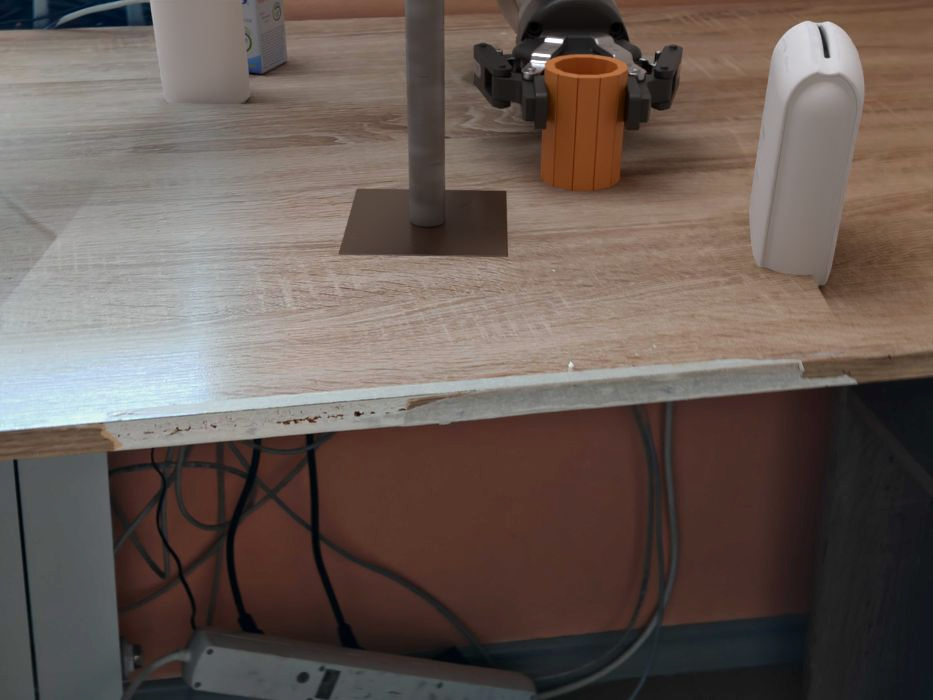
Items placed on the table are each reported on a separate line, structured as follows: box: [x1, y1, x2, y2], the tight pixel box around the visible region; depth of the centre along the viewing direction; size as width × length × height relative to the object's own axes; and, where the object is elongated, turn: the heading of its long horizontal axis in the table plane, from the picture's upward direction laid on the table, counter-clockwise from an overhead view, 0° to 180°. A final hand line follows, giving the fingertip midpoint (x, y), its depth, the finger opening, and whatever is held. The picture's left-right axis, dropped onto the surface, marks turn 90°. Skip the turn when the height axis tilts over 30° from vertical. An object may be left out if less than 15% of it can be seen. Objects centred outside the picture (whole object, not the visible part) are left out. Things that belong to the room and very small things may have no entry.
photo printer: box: [748, 20, 866, 287], centre depth 57 cm, size 10×4×12 cm, turn 169°
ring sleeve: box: [540, 54, 628, 192], centre depth 65 cm, size 5×5×8 cm
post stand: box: [338, 0, 509, 258], centre depth 57 cm, size 9×9×17 cm
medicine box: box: [242, 0, 288, 75], centre depth 89 cm, size 8×4×9 cm, turn 70°
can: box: [149, 0, 251, 105], centre depth 79 cm, size 6×6×12 cm
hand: (588, 113), depth 62 cm, fingers closed on ring sleeve, 4 cm apart
